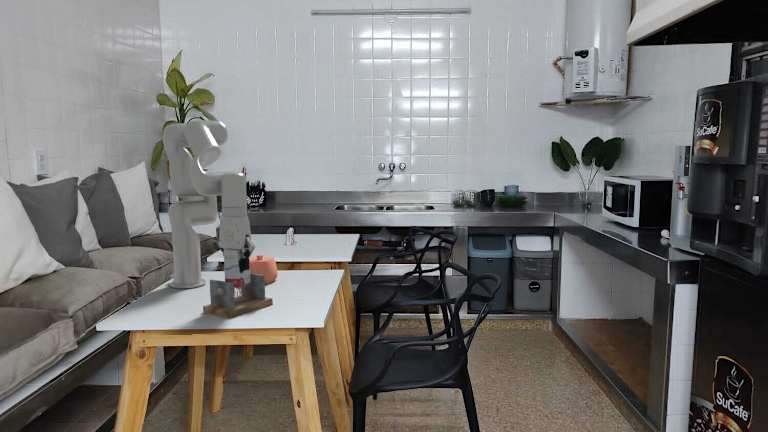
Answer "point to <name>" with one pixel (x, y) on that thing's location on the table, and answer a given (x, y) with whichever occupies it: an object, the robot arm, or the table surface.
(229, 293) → the wooden stand
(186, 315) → the table surface
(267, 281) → the teapot
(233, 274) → the ink box
